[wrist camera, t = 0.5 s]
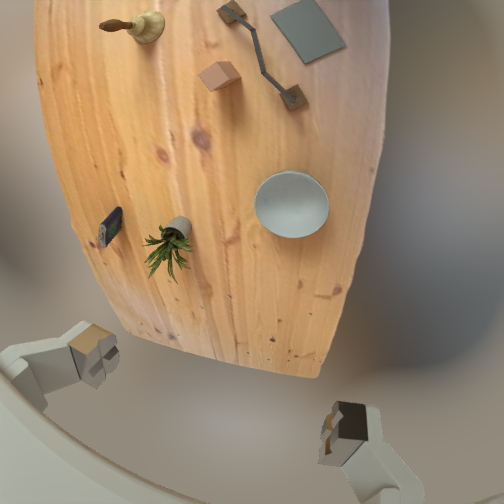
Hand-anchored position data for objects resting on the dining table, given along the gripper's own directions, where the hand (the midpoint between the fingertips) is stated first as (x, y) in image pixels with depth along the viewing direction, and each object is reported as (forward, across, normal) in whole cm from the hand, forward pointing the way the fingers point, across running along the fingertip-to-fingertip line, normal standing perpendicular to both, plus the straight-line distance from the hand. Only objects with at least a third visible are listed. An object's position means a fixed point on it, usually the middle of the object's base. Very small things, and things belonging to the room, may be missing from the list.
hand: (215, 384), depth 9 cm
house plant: (+59, +29, +15) cm, 67 cm away
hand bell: (+40, +36, -34) cm, 64 cm away
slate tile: (+43, +3, -34) cm, 55 cm away
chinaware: (+56, +2, -1) cm, 56 cm away
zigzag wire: (+44, +11, -28) cm, 54 cm away
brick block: (+46, +18, -23) cm, 54 cm away
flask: (+57, +50, +15) cm, 78 cm away
